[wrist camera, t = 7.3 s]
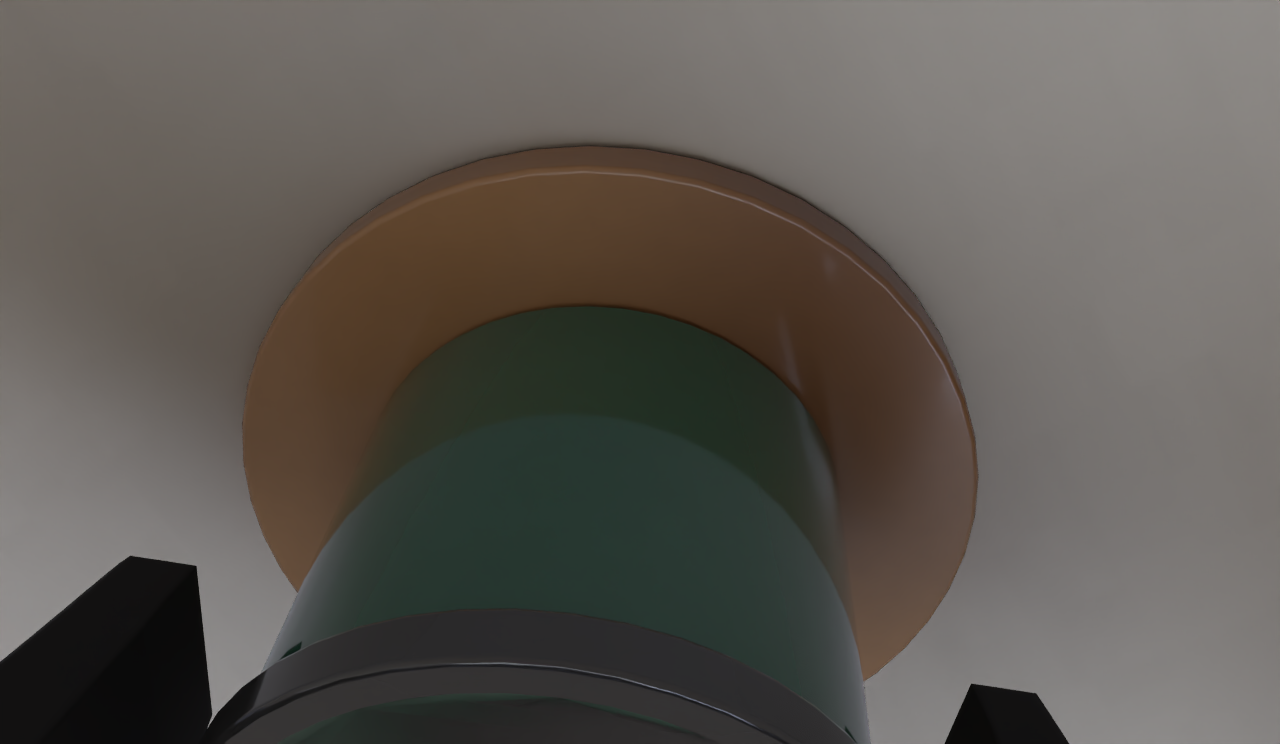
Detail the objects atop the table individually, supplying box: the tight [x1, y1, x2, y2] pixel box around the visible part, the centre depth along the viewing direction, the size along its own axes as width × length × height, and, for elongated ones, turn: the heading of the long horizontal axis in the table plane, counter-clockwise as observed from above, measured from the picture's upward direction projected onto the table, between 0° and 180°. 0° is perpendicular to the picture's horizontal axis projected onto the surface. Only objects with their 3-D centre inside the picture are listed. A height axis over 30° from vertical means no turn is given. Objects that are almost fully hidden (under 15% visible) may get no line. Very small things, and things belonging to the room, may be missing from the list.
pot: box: [198, 306, 871, 744], centre depth 11 cm, size 6×6×5 cm
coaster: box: [242, 146, 978, 682], centre depth 13 cm, size 8×8×1 cm
